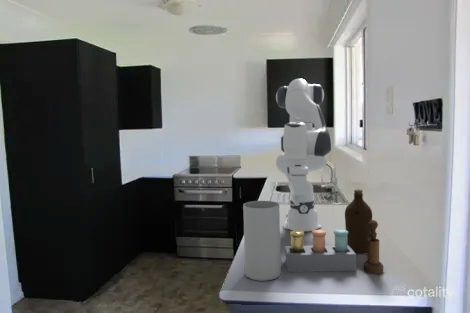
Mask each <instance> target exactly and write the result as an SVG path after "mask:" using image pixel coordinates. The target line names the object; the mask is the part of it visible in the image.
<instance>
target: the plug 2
mask: <svg viewBox="0 0 470 313" xmlns="http://www.w3.org/2000/svg"><path fill="white" fill-rule="evenodd" d="M311 235H312V246H313V253H321V252H325V245H326V235H327V231H326V230H323V229H322V230H321V229H316V230H313V231H311Z"/></svg>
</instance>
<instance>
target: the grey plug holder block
mask: <svg viewBox="0 0 470 313" xmlns="http://www.w3.org/2000/svg"><path fill="white" fill-rule="evenodd" d="M284 254H285V256H284V258H285V260H284V261H285V265H286V270H287V272H354V271H356V272H357V254H355V252H354V251H353V250H352V249H351V248H350V246H349V245H347V252H335V244H332V245H331V244H330V245H329V244H328V245H326V244H325V252H321V253H313V245H303V253H291V245H285V246H284Z"/></svg>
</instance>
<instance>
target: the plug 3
mask: <svg viewBox="0 0 470 313" xmlns="http://www.w3.org/2000/svg"><path fill="white" fill-rule="evenodd" d="M333 234H334V245H335V252H347V235H348V231H346V229H335V230H333Z"/></svg>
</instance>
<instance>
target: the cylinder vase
mask: <svg viewBox="0 0 470 313" xmlns="http://www.w3.org/2000/svg"><path fill="white" fill-rule="evenodd" d="M242 210H243V213H242V214H243V238H244V240H243V241H244V244H243V245H244V272H245V275H246V277H247V278H249V279H251V280H254V281H259V282H267V281H272V280H276V279H277V278H279V277H280V275H281V274H282V268H281V264H282V262H281V261H282V260H281V223H280V222H281V219H280V215H281V214H280V213H281V212H280V203H279V202H276V201H272V200H253V201H247V202H245V203H243V206H242Z"/></svg>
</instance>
